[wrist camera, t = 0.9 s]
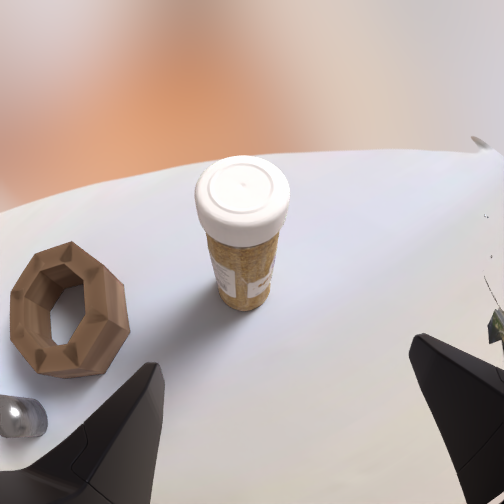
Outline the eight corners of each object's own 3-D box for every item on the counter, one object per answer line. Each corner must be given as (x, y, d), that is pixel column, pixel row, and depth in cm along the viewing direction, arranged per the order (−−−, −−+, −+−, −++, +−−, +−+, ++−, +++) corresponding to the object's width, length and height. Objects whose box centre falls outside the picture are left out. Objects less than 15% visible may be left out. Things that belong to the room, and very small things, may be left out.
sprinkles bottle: (273, 308, 24) (301, 221, 12) (220, 314, 24) (194, 233, 12) (265, 259, 26) (280, 148, 14) (215, 265, 26) (192, 156, 14)
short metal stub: (40, 443, 17) (8, 446, 12) (16, 416, 18) (-15, 414, 13) (53, 417, 18) (20, 417, 14) (28, 390, 19) (-4, 385, 15)
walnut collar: (89, 400, 20) (61, 399, 16) (22, 331, 22) (-5, 318, 18) (149, 302, 24) (131, 284, 20) (75, 248, 26) (54, 226, 22)
